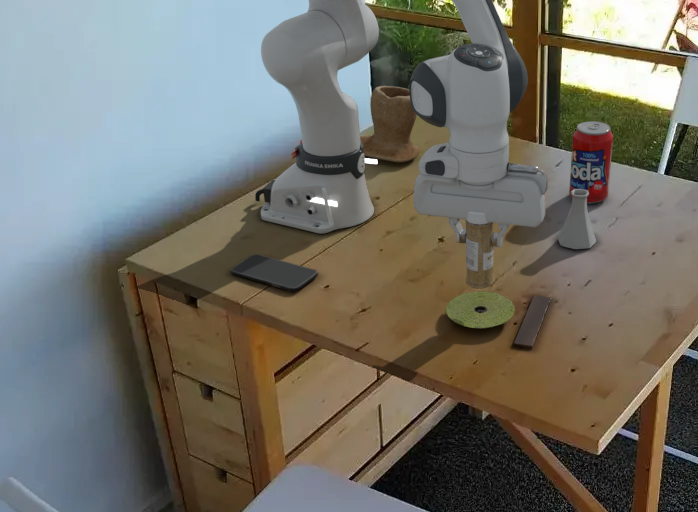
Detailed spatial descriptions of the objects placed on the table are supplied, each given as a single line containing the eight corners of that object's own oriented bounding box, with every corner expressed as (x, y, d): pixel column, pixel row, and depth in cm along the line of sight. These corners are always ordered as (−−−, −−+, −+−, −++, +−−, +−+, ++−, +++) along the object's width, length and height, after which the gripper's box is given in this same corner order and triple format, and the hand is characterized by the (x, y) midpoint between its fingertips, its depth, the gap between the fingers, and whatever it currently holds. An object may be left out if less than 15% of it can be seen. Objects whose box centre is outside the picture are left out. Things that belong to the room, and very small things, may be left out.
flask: (594, 252, 172) (598, 202, 166) (555, 249, 173) (557, 199, 167) (597, 234, 178) (601, 185, 172) (559, 231, 179) (562, 182, 173)
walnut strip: (513, 346, 148) (513, 343, 147) (533, 298, 159) (533, 295, 159) (532, 349, 147) (532, 345, 147) (551, 300, 158) (551, 297, 158)
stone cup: (430, 151, 211) (428, 85, 202) (402, 170, 203) (399, 103, 194) (374, 139, 217) (370, 75, 208) (345, 157, 209) (339, 91, 200)
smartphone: (254, 252, 172) (320, 270, 166) (255, 257, 173) (321, 275, 166) (227, 270, 167) (294, 289, 161) (228, 274, 167) (295, 294, 161)
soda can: (614, 195, 191) (620, 124, 182) (597, 209, 186) (603, 137, 177) (579, 186, 195) (584, 116, 186) (562, 200, 189) (566, 129, 181)
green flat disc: (501, 343, 148) (501, 332, 147) (435, 329, 152) (435, 319, 151) (523, 307, 157) (523, 297, 156) (461, 295, 160) (460, 286, 159)
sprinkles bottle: (496, 287, 150) (498, 211, 142) (469, 291, 149) (468, 214, 141) (489, 274, 153) (490, 198, 145) (462, 277, 152) (461, 201, 144)
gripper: (552, 158, 139) (548, 241, 147) (420, 146, 143) (424, 227, 152) (543, 175, 134) (540, 261, 142) (408, 162, 139) (412, 245, 147)
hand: (479, 243), depth 147 cm, fingers closed on sprinkles bottle, 4 cm apart
